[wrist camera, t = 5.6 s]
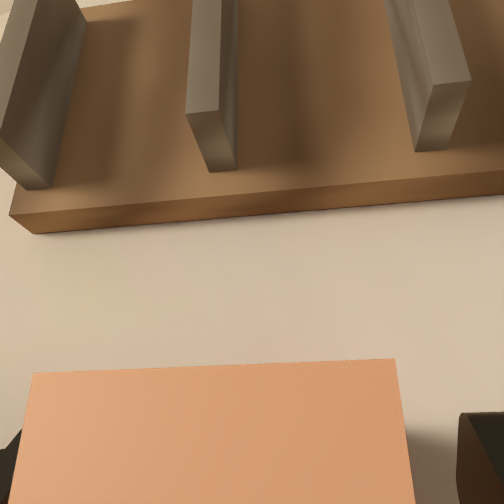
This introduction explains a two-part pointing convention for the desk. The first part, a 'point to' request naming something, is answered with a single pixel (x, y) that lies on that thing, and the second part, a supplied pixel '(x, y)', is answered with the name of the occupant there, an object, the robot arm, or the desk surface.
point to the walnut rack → (246, 107)
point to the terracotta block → (216, 436)
